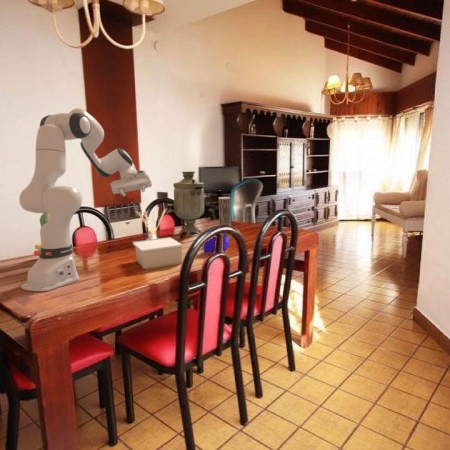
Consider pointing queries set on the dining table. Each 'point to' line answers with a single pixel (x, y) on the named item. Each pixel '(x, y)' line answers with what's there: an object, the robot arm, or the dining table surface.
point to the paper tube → (224, 212)
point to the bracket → (210, 244)
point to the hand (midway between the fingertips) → (133, 192)
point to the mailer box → (159, 257)
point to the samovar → (188, 201)
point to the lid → (156, 244)
